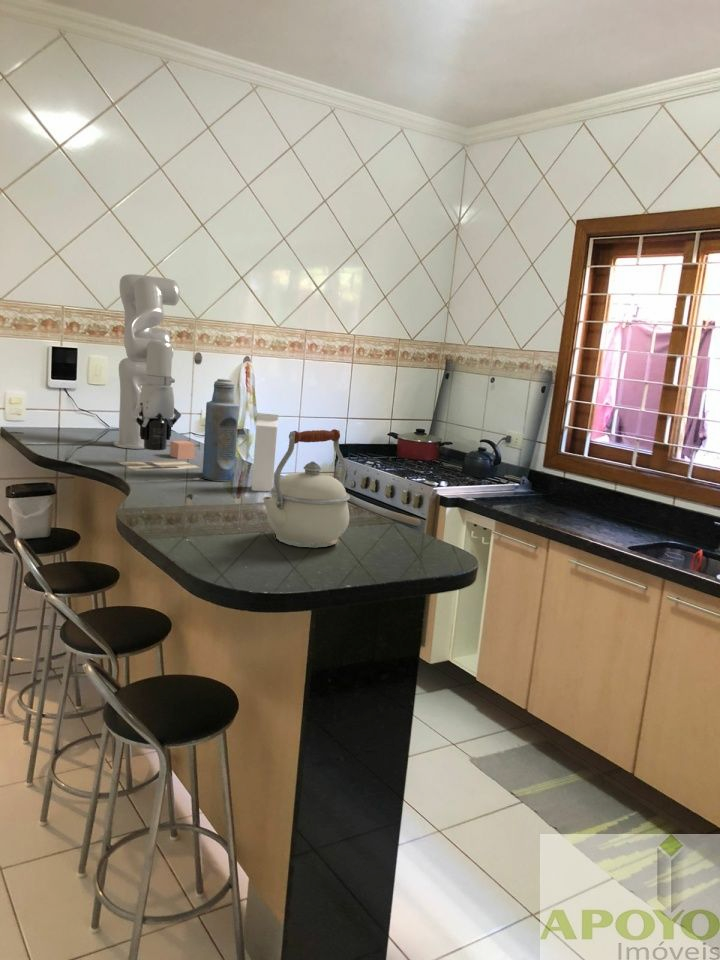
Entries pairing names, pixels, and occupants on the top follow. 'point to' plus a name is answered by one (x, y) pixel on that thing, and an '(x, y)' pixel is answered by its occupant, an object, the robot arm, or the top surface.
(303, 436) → the kettle
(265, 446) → the milk
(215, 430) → the bottle
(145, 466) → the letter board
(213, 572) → the top surface
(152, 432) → the supplement bottle
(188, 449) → the terracotta block
